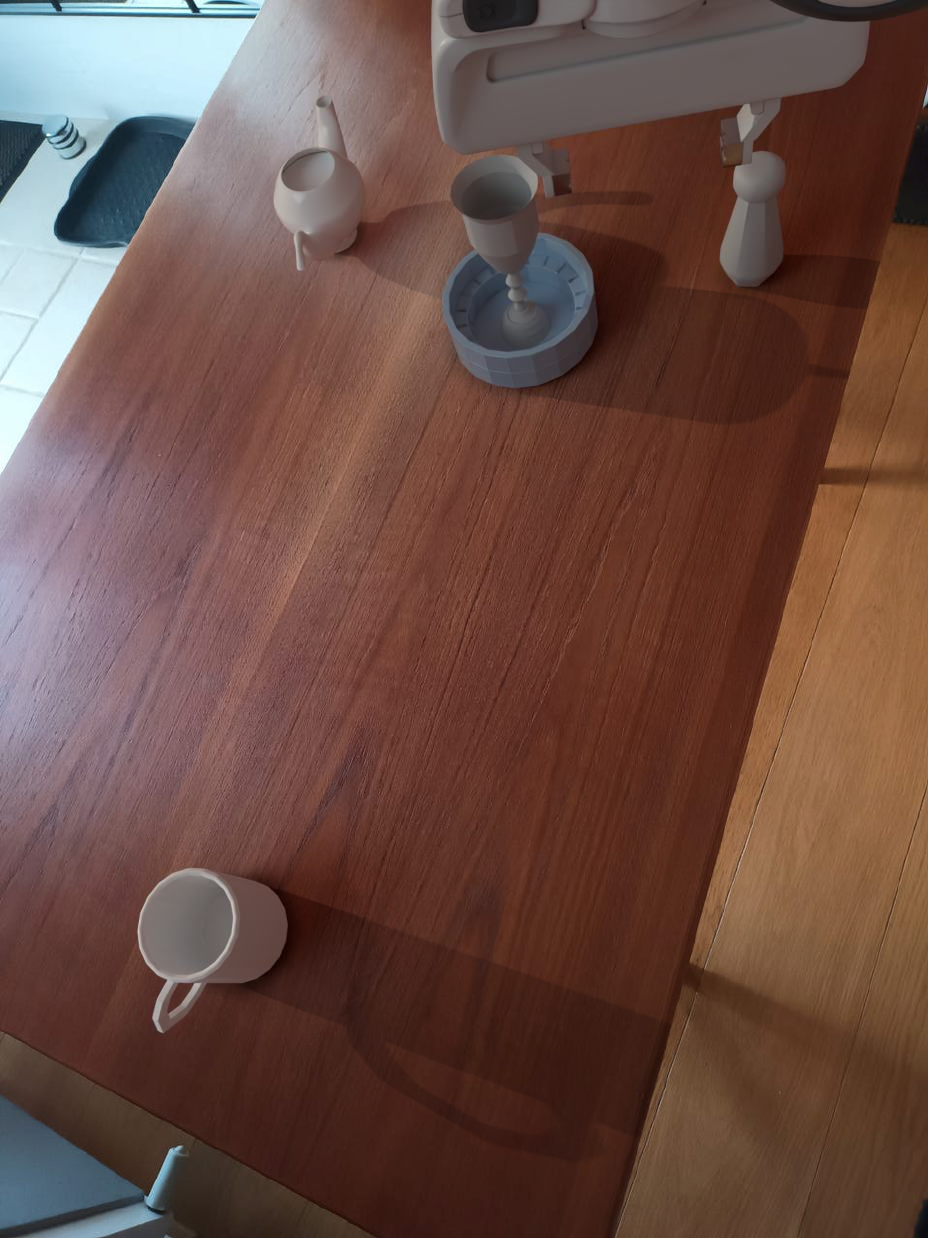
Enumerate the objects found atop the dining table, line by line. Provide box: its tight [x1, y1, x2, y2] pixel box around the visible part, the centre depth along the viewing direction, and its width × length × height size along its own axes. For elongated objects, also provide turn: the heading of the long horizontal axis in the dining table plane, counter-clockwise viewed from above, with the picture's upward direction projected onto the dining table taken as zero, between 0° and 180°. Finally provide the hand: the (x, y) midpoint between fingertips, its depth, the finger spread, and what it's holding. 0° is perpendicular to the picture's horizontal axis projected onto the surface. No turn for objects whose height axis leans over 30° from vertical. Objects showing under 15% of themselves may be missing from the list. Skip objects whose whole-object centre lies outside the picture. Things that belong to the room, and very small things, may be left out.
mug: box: [137, 867, 289, 1034], centre depth 74 cm, size 8×12×10 cm
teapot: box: [272, 95, 366, 272], centre depth 100 cm, size 10×20×9 cm, turn 173°
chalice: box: [449, 154, 550, 348], centre depth 86 cm, size 7×7×18 cm
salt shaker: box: [719, 150, 787, 288], centre depth 86 cm, size 6×6×13 cm
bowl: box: [441, 232, 599, 389], centre depth 92 cm, size 14×14×6 cm
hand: (645, 172), depth 52 cm, fingers open, 8 cm apart
